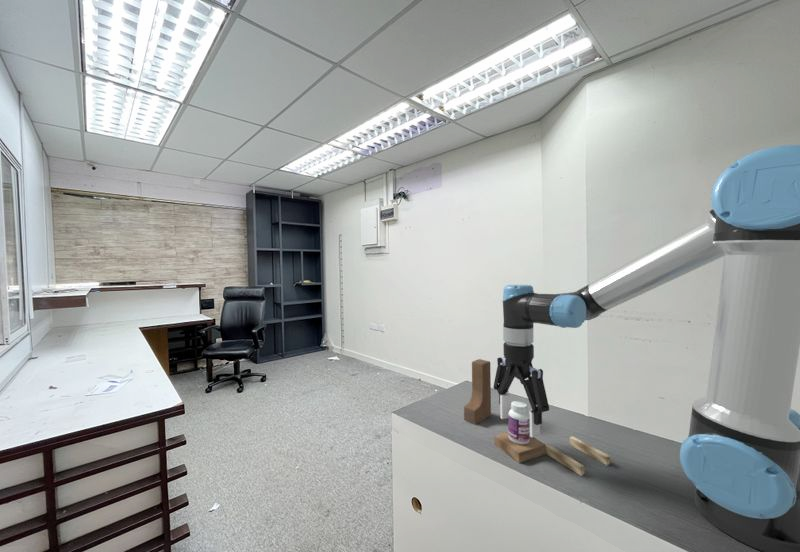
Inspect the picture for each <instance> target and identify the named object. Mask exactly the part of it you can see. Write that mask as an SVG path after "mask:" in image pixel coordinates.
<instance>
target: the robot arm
mask: <svg viewBox="0 0 800 552" xmlns="http://www.w3.org/2000/svg"><path fill="white" fill-rule="evenodd" d="M710 201H711V207H712V209H711V210H709V211H708V212H707V213H706V216H705V219H704V220H702V221H701V222H698V223H697V224H695V225H694V226H691V227H689V228H688V229H686V230H684V231H683V232H681V233H679V234H677V235H675V236H673V237H672V238H670V239H668V240H666V241H665V242H662V243H661V244H659V245H657V246H655V247H653V248H652V249H650V250H648V251H646V252H644V253H643V254H641V255H639V256H637V257H635V258H634V259H631V260H630V261H628V262H627V263H625V264H623V265H621V266H619V267H618V268H615V269H613V270H612V271H610V272H609V273H606V274H605V275H603V276H601V277H600V278H597V279H596V280H594V281H592V282H591V283H589V284H587V285H585V286H584V287H581V288H580V289H578V290H575V291H571V292H564V293H538V292H537V293H536V292H535V291H534V286H532V285H529V284H508V285H504V288H503V289H502V290H503V295H502V296H503V297H502V310H503V311H502V312H503V313H502V314H503V315H502V316H503V326H502V327H503V329H502V330H503V331H502V332H503V333H502V336H503V338H502V341H503V342H504V343H503V344H502V345H503V356H502V357H497V360H496V361H497V362H496V363H497V367H496V372H495V377H494V382H493V387H492V388H493V390H495V391H497V394H498V402H499V406H500V407H499V409H500V410H499V411H500V415H499V416H500V419H501V420H505V419H509V415H508V414H509V411H510V410H511V403H510V397H511V396H510V393H508V392H509V390H510V387H511V385H512V384H513V382H514V380H515V378H516V379H517V380H519V382H520V385H522V386H523V388H524V391H525V394H526V397H527V399H528V402H529V405H530V406H531V409H529V415H530V437H532V438H533V437H534V438H536V437H539V436H541V425H542V424H543V413H545V412H548V411H549V412H550V406H549V402H548V398H547V397H548V396H547V391H546V387H545V384H544V371H543V369H542V368H539V369H537V368H535V367H534V366H533V363H532V362H533V359H534V357H535V355H534V353H535V351H534V348H535V347H534V344H533V343H534V324H539V325H540V324H542V325H548V326H554V327H555V326H556V327H559V328H562V329H563V328H570V329H578V328H580V327H581V326H582V325H583V324H584V323H585V321H590V320H593V319H596V318H598V317H599V316H601V315H602V314H603V313H605V312H606V311H609V310H611V309H613V308H615V307H617V306H619V305H621V304H624V303H626V302H628V301H630V300H632V299H634V298H636V297H638V296H641V295H644V294H646V293H647V292H649V291H651V290H655V289H656V288H658V287H660V286H662V285H664V284H667V283H670V282H672V281H673V280H675V279H678V278H679V277H682V276H684V275H686V274H689V273H691V272H693V271H695V270H697V269H699V268H702V267H704V266H706V265H708V264H710V263H712V262H715V261H716V260H719V259H720V258H723V266H722V273H721V281H720V288H719V296H718V297H719V298H718V304H717V313H716V320H715V326H714V334H713V335H714V336H713V343H712V350H711V360H710V366H709V367H710V368H709V375H708V381H707V382H708V383H707V389H706V395H705V396H704V397H701V398H700V399H696V400H694V401H693V402H692V409H691V415H690V422H689V431H688V436H687V438H685V439H684V440H683V441H682V444H681V445H680V451H679V461H680V464H681V467H682V470H683V472H684V473H685V474H684V475H686V477H687V479H689V480H690V481H691V483H692V484H693V485H694V486H695V490H694V504H695V507H696V509H697V511H698V512H699V513H700V514H701V516H702V517H704V518H705V519H706V520H707V521H708V522H709V523H710V524H712V525H713V526H715V528H717V529H718V530H720V531H722V532H723V533H725V534H726V535H729V536H730V537H731V538H733V539H736V540H737V541H739V542H741V543H743V544H745V545H748V546H749V547H751V548H753V549H757V550H759V551H761V552H800V413H799V411H796V410H794V409H792V408H791V406H792V401H793V392H794V388H795V386H794V385H795V380H796V374H797V366H798V360H799V354H800V144H785V145H775V146H771V147H767V148H763V149H761V150H760V149H759V150H756V151H754V152H752V153H749V154H747V155H745V156H743V157H741V158H740V159H738V160H736V161H735V162H733V163H732V164H731V165H729V166H728V167H726V169H725V170H724V171H722V172H721V174H720V175H719V176H718V178H717V179H716V181H715V182H714V185H713V188H712V190H711V197H710Z"/></svg>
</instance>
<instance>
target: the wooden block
mask: <svg viewBox="0 0 800 552" xmlns="http://www.w3.org/2000/svg"><path fill="white" fill-rule="evenodd" d="M491 373H492V372H491V361H488V360H484V359H481V358H480V359H479V358H478V359H476V360H474V361H471V397H470V400H469V401H468V402H467V404H465V405H464V406H463V419H464V421H466V422H469V423H471V424H472V425H473V424H474V425H477V424H478V423H480V422H482V421H483V420H486V419H487V418H489V417H491V415H492V401H491V399H492V396H491V395H492V394H491V393H492V390H491V389H492V388H491V386H492V384H491V379H492V378H491Z"/></svg>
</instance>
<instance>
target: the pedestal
mask: <svg viewBox="0 0 800 552" xmlns="http://www.w3.org/2000/svg"><path fill="white" fill-rule="evenodd" d="M493 440H494V445H495V446H496V447H497V448H498V449H499V450H502V452H504V453H505V454H506V455H508V456H509V457H510V458H512V459H513V460H515V461H516V462H517V463H519V464H520V463H523V462H526V461H529V460H532V459H535V458H538V457H541V456H544V455H547V454H546V445H547V444H546V443H544V442H542V441H541V440H539V439H537V438H536V437H533V438H532V437H530V442H529V443H528V444H523V445H520V444H516V443H514V442H512V441H511V440H510V439H509V431H506V432H505V431H504V432H502V433H499V434H498V433H497V434H496V435H494V438H493Z"/></svg>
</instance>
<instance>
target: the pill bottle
mask: <svg viewBox="0 0 800 552" xmlns="http://www.w3.org/2000/svg"><path fill="white" fill-rule="evenodd" d="M508 415H509V418H508V432H509V439H510V440H511V441H512V442H514V443H516V444H520V445H523V444H528V443H529V442H530V412H529V411H528V404H527V403H526V402H524V401H519V400H514V401H511V403H510V411H509V414H508Z"/></svg>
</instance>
